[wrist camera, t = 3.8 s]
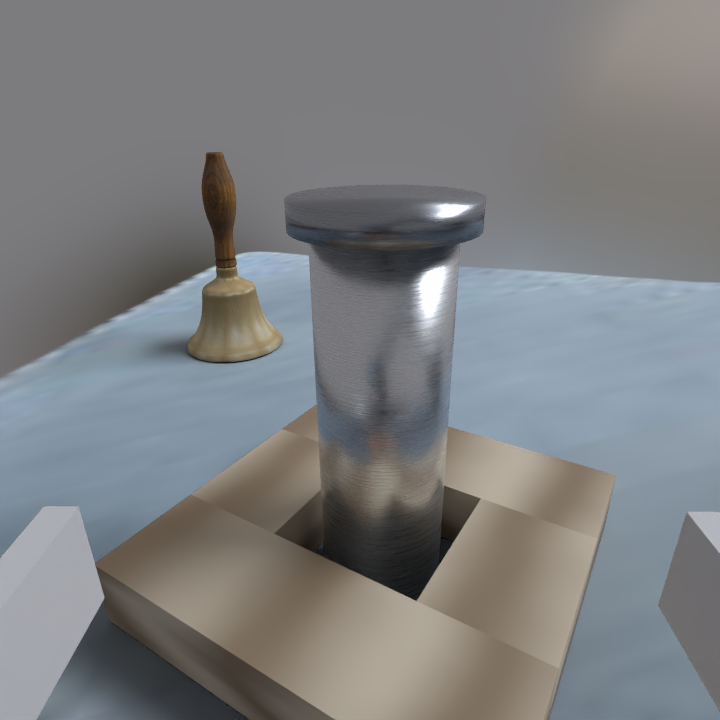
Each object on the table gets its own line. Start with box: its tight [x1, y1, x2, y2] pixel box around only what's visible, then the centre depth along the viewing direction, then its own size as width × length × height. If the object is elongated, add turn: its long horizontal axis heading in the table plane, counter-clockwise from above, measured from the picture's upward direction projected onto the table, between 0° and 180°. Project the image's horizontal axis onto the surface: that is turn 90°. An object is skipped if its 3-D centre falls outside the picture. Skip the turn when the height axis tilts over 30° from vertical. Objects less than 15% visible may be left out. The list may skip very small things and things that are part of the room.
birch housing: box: [95, 404, 616, 720], centre depth 23 cm, size 16×16×3 cm
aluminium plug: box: [284, 185, 486, 601], centre depth 21 cm, size 6×6×16 cm
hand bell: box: [187, 152, 283, 362], centre depth 44 cm, size 8×8×16 cm
